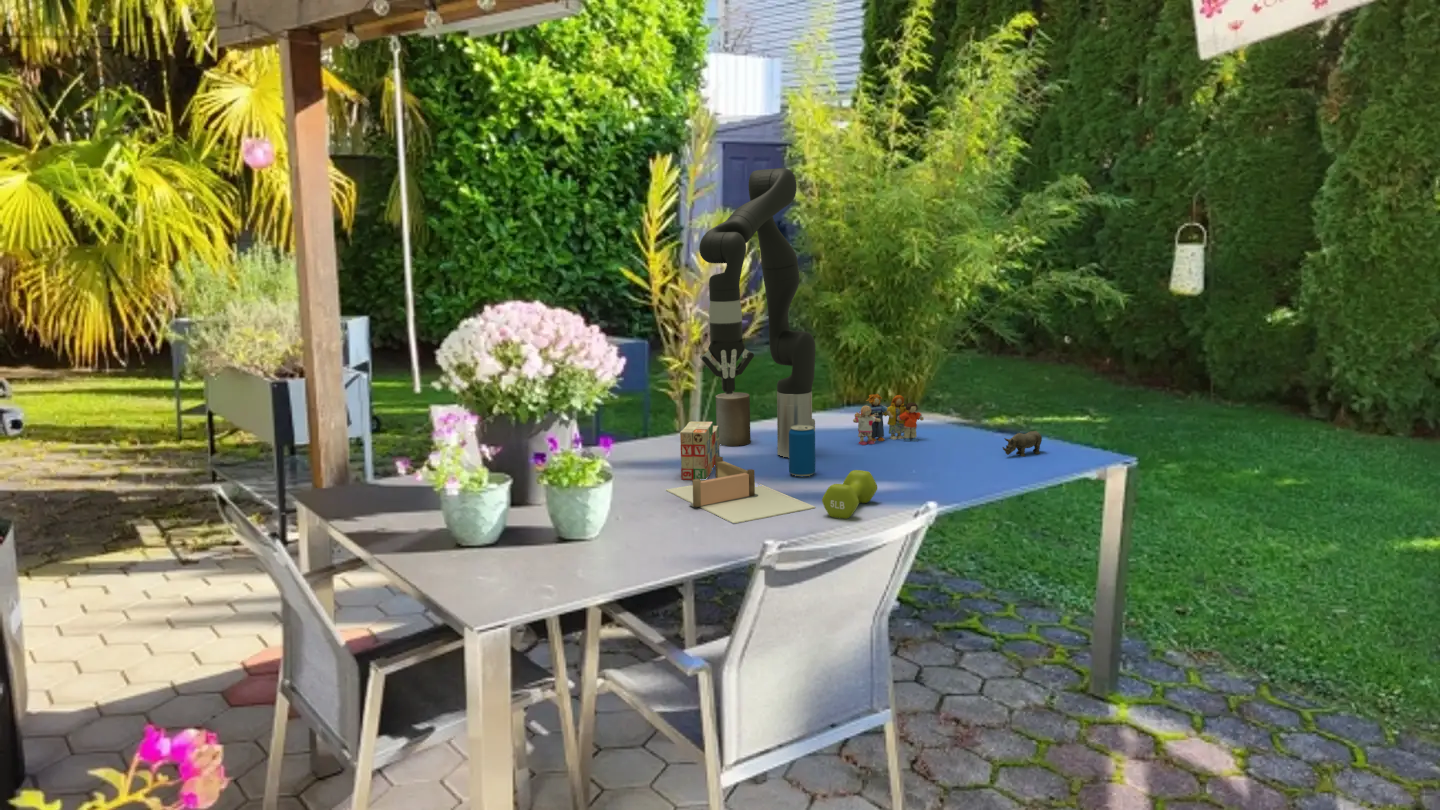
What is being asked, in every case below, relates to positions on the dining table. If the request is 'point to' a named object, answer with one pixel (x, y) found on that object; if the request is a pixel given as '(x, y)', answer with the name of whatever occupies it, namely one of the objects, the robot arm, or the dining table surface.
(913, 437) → the doll family
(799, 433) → the beverage can
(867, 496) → the dumbbell
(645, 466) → the dining table surface
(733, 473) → the wooden fence panel
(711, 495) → the gate
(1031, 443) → the rhino figurine
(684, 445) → the stack of blocks
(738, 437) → the pillar candle
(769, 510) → the card
